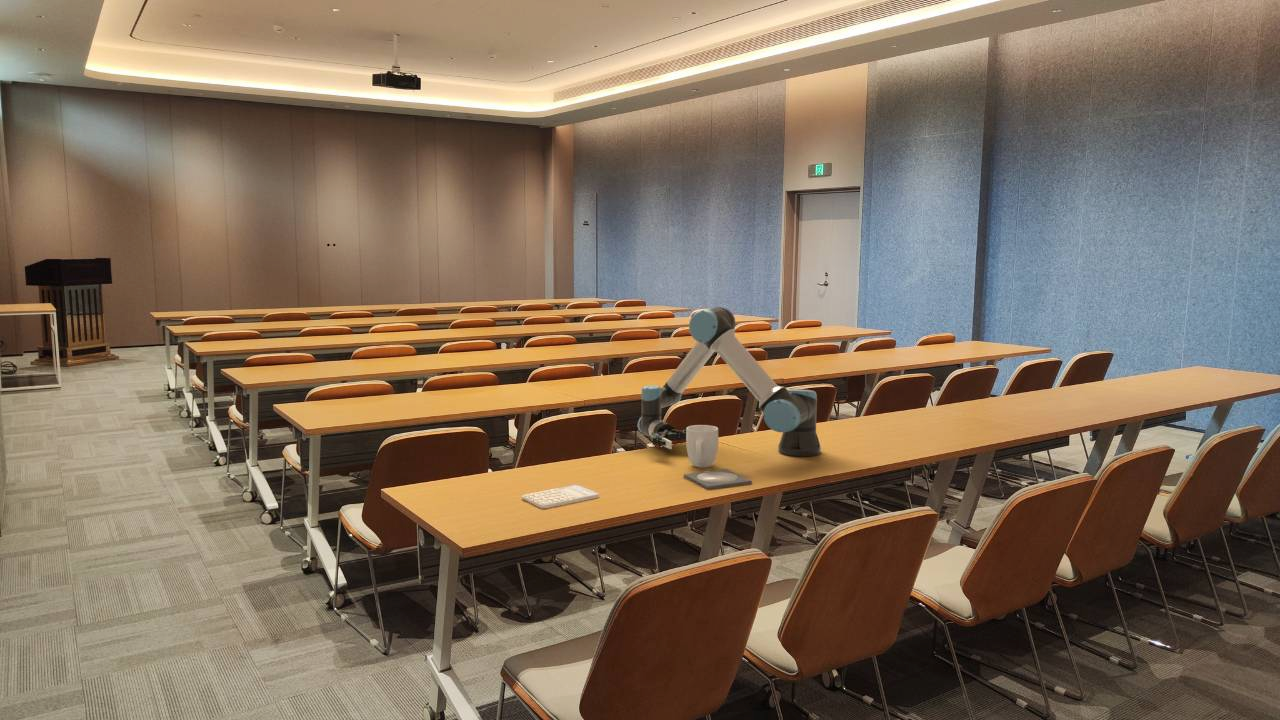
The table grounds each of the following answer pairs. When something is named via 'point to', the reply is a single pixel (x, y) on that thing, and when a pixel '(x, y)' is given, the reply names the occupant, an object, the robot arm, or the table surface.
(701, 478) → the kitchen scale
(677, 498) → the table surface
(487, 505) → the table surface
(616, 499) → the table surface
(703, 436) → the mug
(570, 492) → the calculator
